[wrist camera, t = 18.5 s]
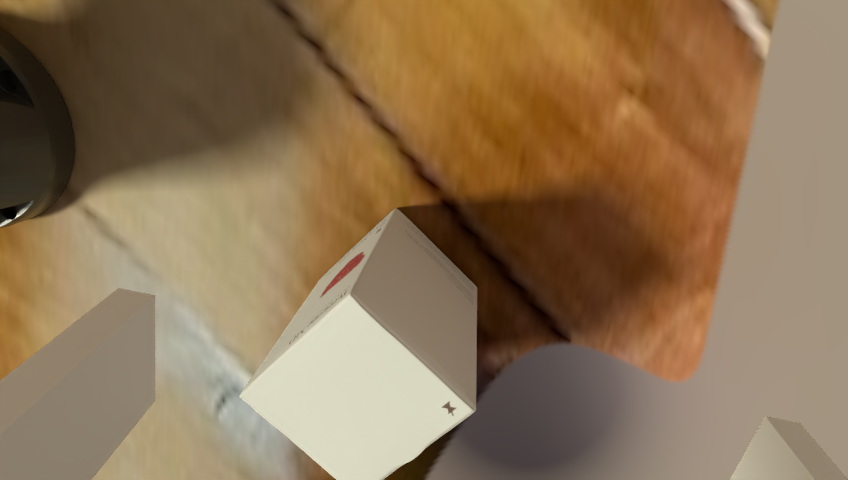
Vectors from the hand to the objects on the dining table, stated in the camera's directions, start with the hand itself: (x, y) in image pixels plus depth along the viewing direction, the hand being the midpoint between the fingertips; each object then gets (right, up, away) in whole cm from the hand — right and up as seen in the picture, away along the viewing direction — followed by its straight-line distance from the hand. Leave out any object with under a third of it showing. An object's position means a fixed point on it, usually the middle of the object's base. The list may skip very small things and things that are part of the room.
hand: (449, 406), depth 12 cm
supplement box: (-3, 0, +29) cm, 29 cm away
